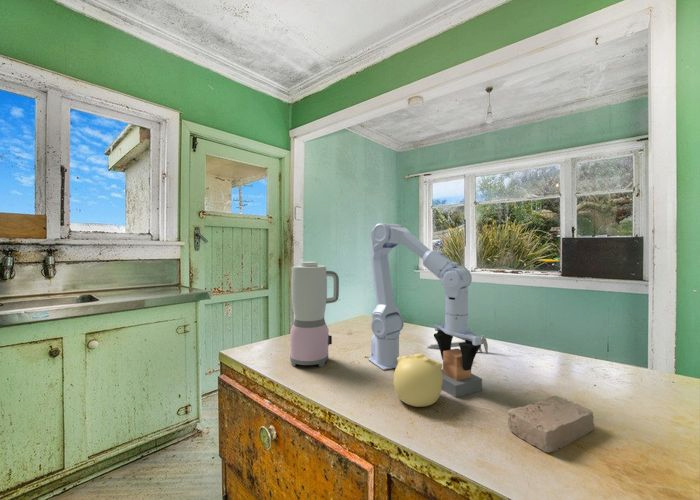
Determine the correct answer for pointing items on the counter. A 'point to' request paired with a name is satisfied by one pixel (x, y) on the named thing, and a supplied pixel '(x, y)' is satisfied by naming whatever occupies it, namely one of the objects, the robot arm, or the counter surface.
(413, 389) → the sculpture
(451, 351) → the block
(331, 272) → the blender
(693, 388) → the counter surface
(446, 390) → the base
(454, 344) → the caliper
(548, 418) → the brick
